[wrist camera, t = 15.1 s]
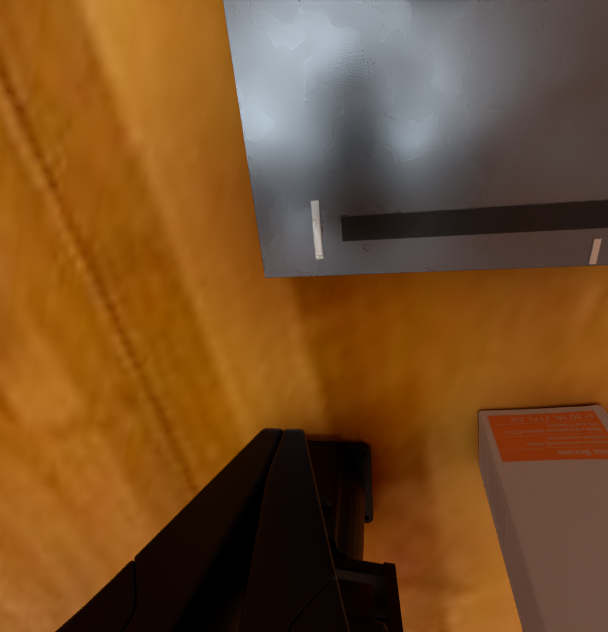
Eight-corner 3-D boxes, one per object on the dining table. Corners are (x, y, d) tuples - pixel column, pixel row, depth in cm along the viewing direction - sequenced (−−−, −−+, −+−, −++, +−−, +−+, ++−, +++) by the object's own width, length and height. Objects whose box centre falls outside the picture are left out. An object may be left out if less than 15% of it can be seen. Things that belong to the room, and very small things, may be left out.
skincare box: (600, 399, 21) (821, 699, 11) (593, 461, 23) (774, 769, 13) (473, 407, 23) (557, 679, 12) (475, 465, 24) (550, 745, 14)
